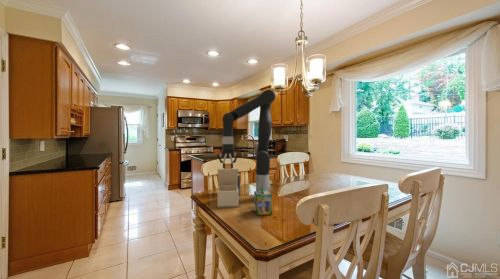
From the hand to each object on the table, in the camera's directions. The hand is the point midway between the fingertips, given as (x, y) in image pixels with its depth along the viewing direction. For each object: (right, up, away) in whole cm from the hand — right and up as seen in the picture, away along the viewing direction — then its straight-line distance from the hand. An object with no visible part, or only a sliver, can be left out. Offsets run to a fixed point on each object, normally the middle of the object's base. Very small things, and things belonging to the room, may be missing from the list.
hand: (227, 168), depth 144 cm
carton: (0, -22, -4) cm, 22 cm away
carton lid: (0, -5, -1) cm, 6 cm away
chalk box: (+22, -23, -19) cm, 37 cm away
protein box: (-1, -21, +16) cm, 27 cm away
